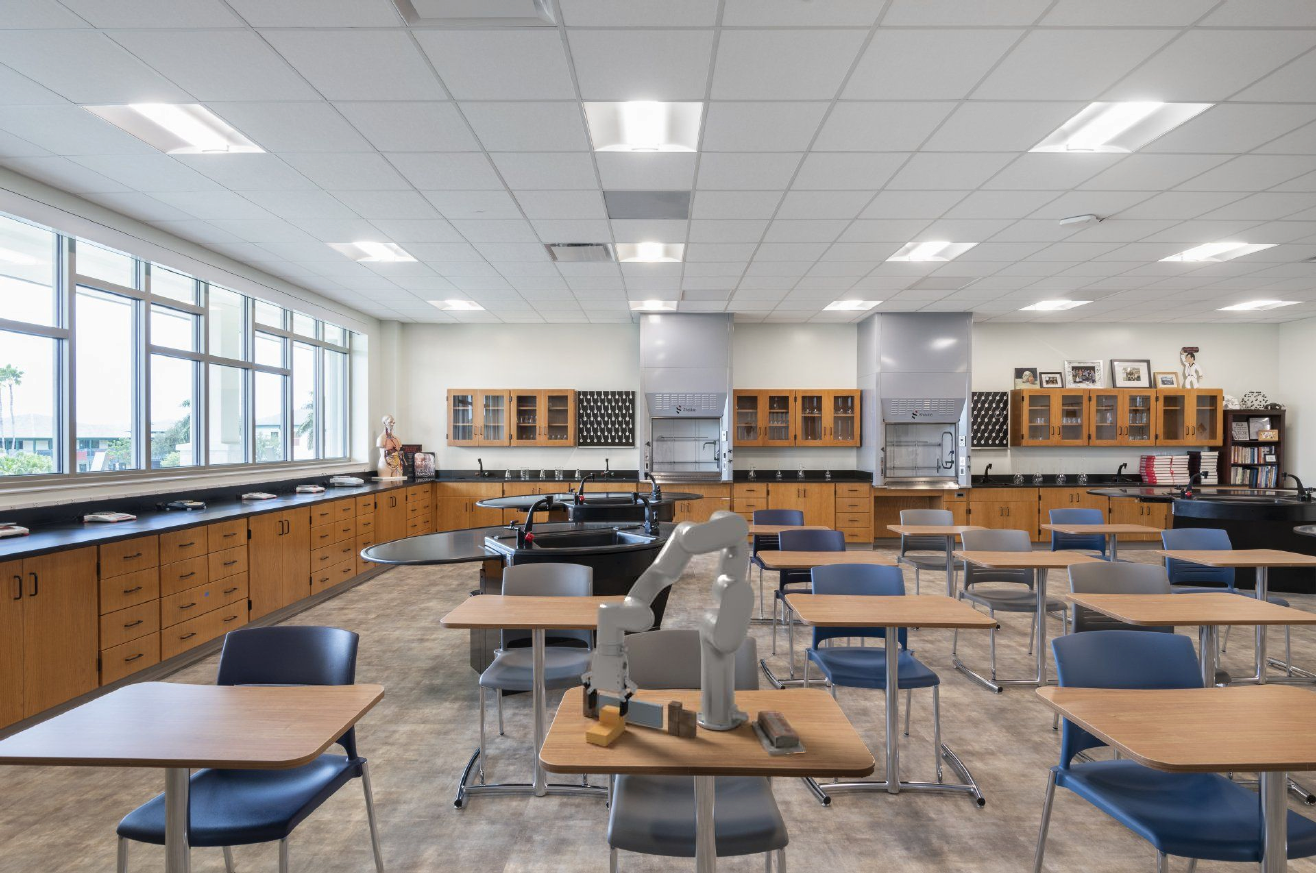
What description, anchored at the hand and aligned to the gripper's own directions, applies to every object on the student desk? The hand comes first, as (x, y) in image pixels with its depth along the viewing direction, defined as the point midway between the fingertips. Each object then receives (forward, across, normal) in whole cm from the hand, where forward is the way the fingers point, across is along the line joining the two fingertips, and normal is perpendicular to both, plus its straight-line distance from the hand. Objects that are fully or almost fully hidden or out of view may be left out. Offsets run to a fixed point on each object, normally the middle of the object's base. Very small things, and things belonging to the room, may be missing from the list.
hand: (607, 711), depth 173 cm
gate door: (+5, -2, -8) cm, 10 cm away
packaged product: (+5, -43, -17) cm, 46 cm away
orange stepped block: (+6, -1, +2) cm, 6 cm away
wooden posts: (+6, -5, -8) cm, 11 cm away
